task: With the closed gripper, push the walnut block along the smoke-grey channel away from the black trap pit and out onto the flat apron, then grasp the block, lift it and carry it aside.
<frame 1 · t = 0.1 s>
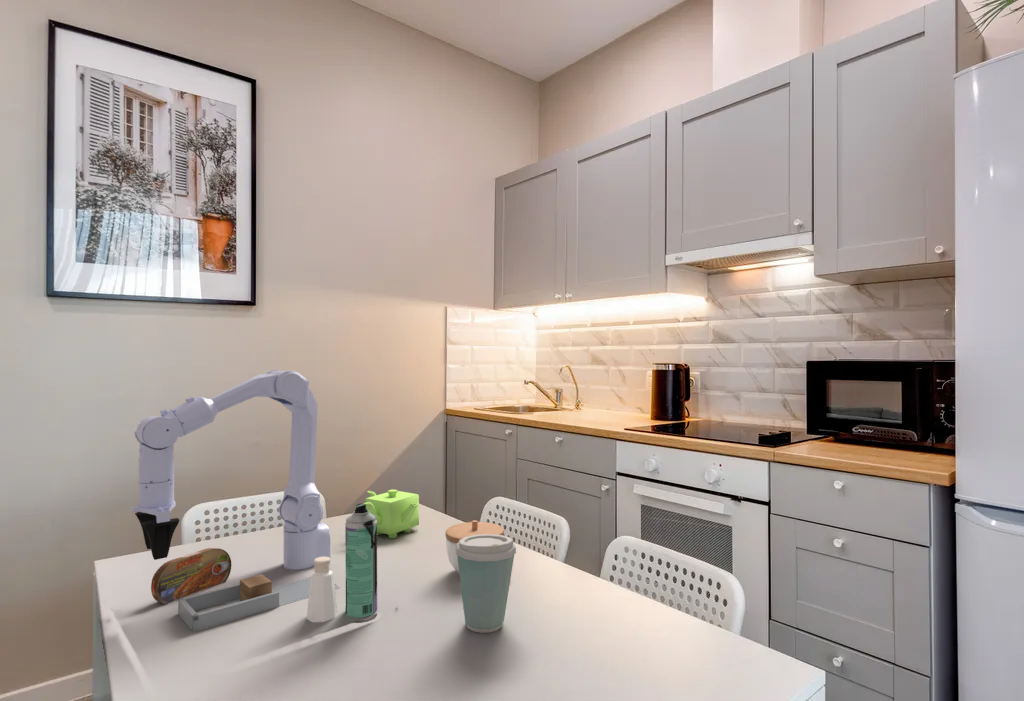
hand: (156, 552, 107), 10 cm above the table, fingers open, 7 cm apart
tin: (192, 597, 112), on the table
trap channel: (258, 606, 107), on the table
walnut block: (255, 602, 106), point 1 cm above the table, touching trap channel
lidded bowl: (475, 573, 123), on the table
kettle: (390, 533, 152), on the table
spray can: (361, 617, 103), on the table
disposable coffee cup: (486, 625, 99), on the table
salt shaker: (322, 622, 101), on the table
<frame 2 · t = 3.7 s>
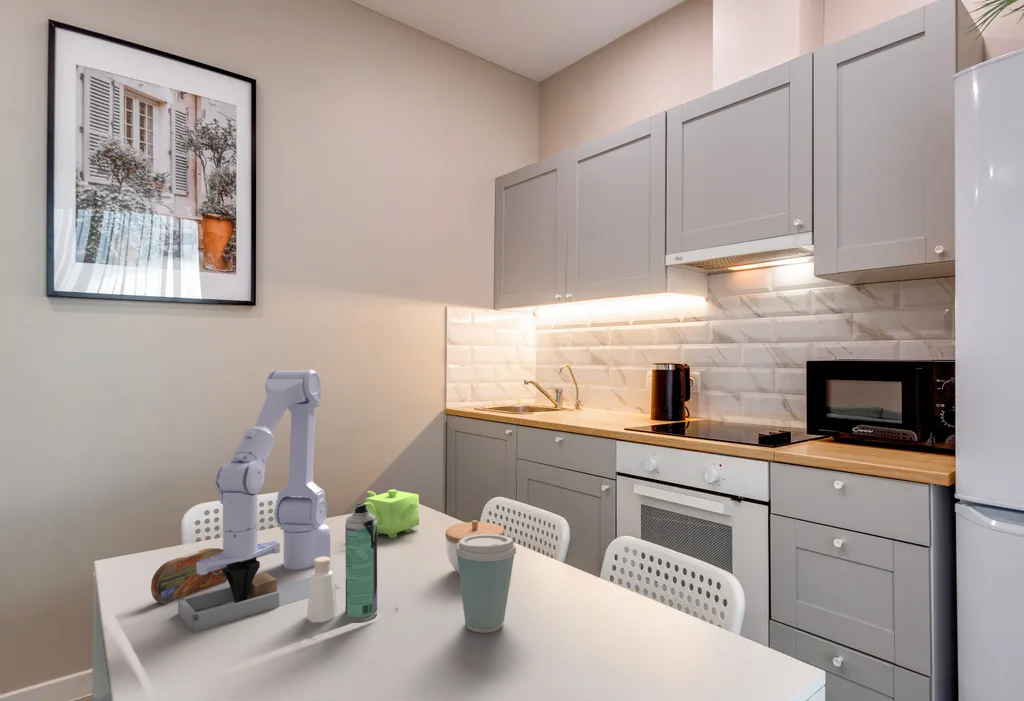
hand: (240, 602, 105), 2 cm above the table, fingers closed
walnut block: (260, 600, 107), point 1 cm above the table, touching gripper
everything else where it was.
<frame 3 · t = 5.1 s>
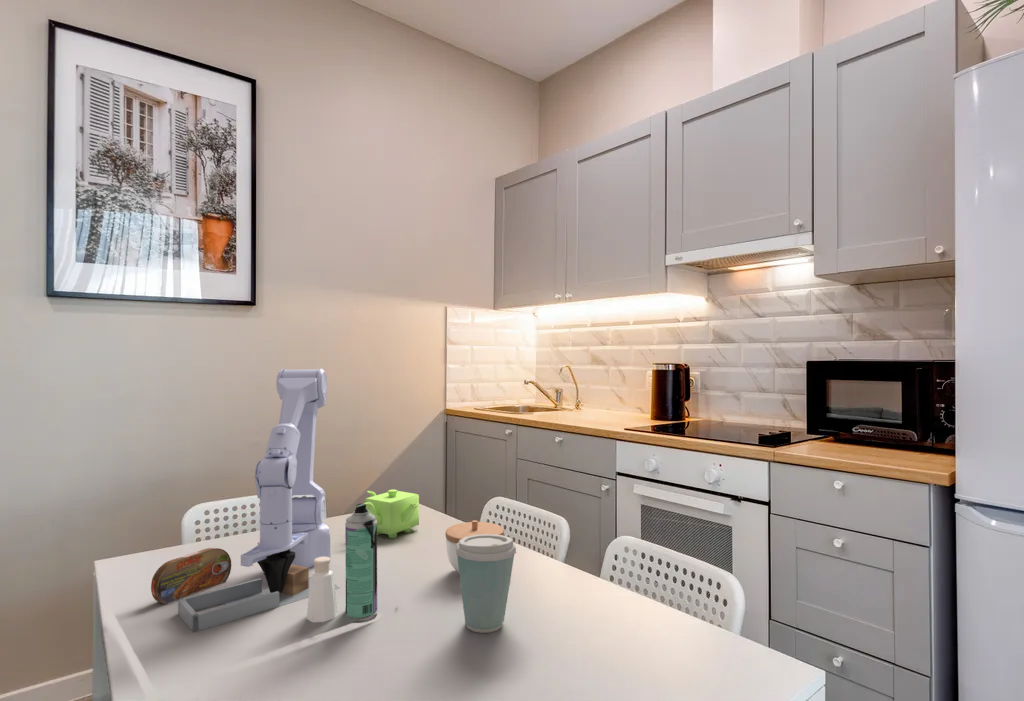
hand: (276, 592, 109), 2 cm above the table, fingers closed
walnut block: (291, 589, 112), point 1 cm above the table, touching gripper, trap channel
everything else where it was.
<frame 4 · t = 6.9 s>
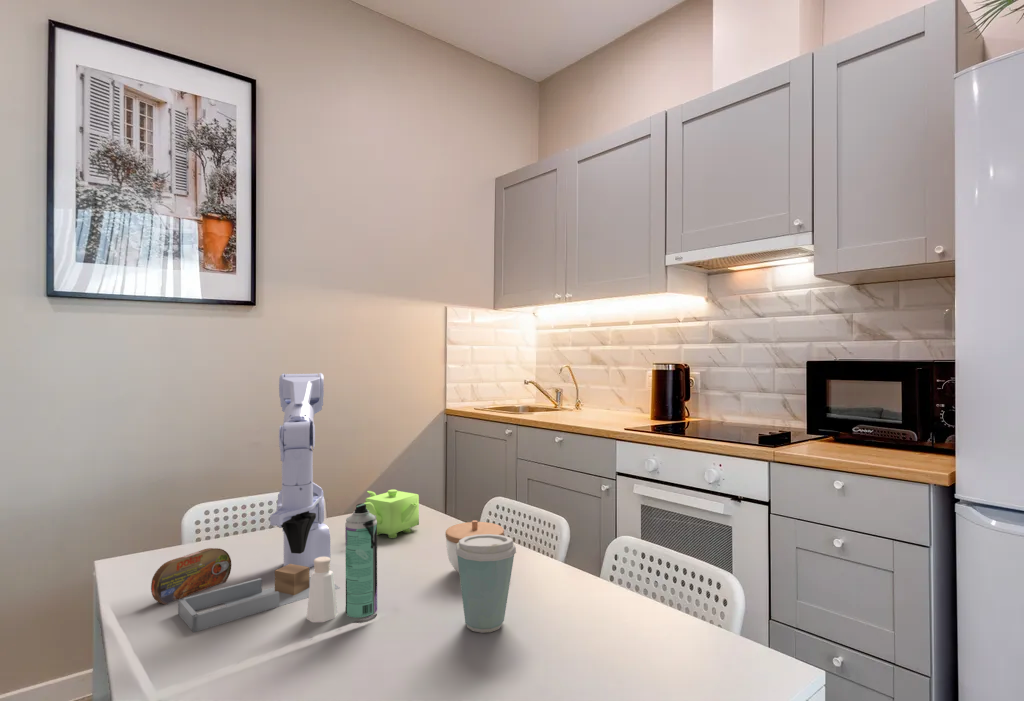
hand: (297, 552, 112), 8 cm above the table, fingers closed
walnut block: (292, 589, 112), point 1 cm above the table, touching trap channel
everything else where it was.
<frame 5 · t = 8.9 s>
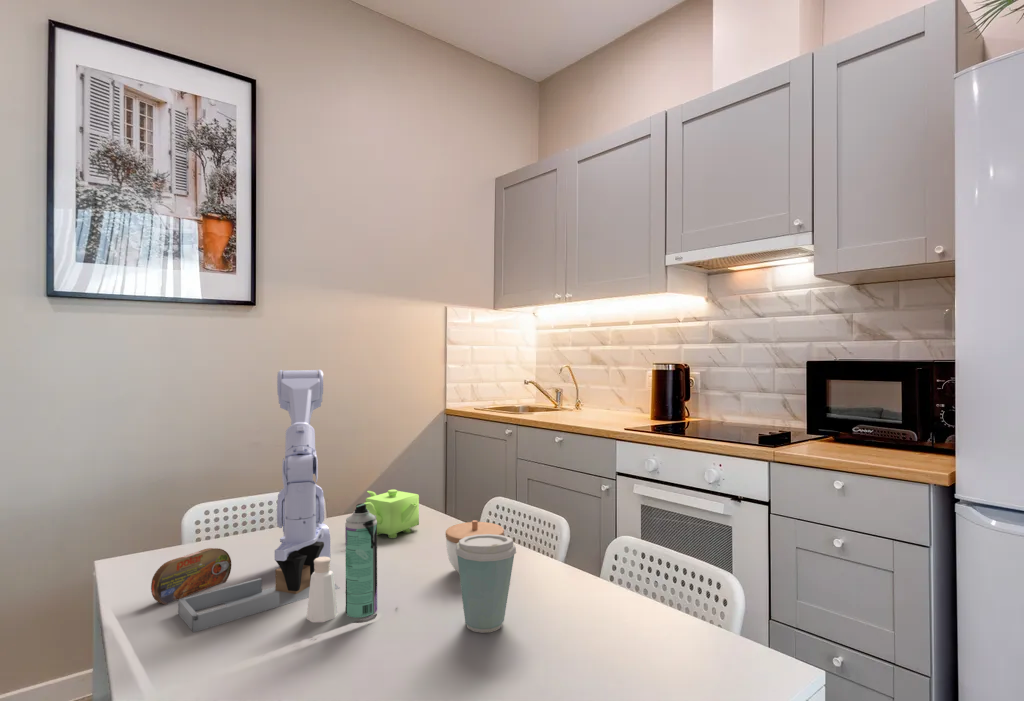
hand: (300, 585, 112), 2 cm above the table, fingers closed on walnut block, 4 cm apart
walnut block: (292, 588, 113), point 1 cm above the table, touching gripper, trap channel
everything else where it was.
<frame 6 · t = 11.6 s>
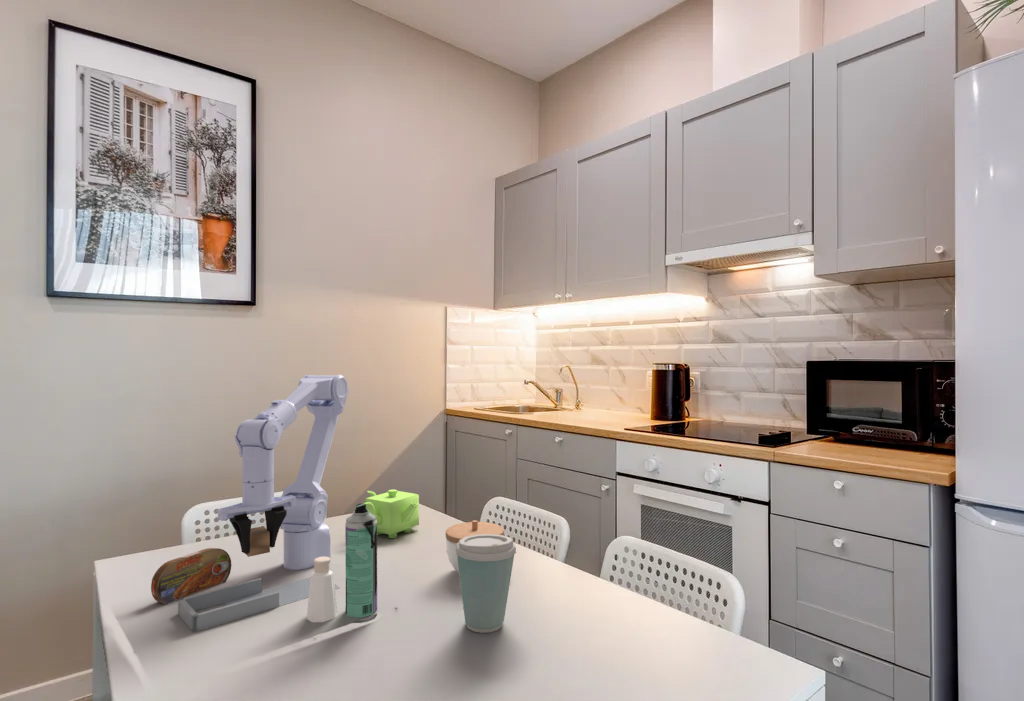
hand: (258, 549, 113), 9 cm above the table, fingers closed on walnut block, 4 cm apart
walnut block: (255, 551, 114), point 8 cm above the table, touching gripper
everything else where it was.
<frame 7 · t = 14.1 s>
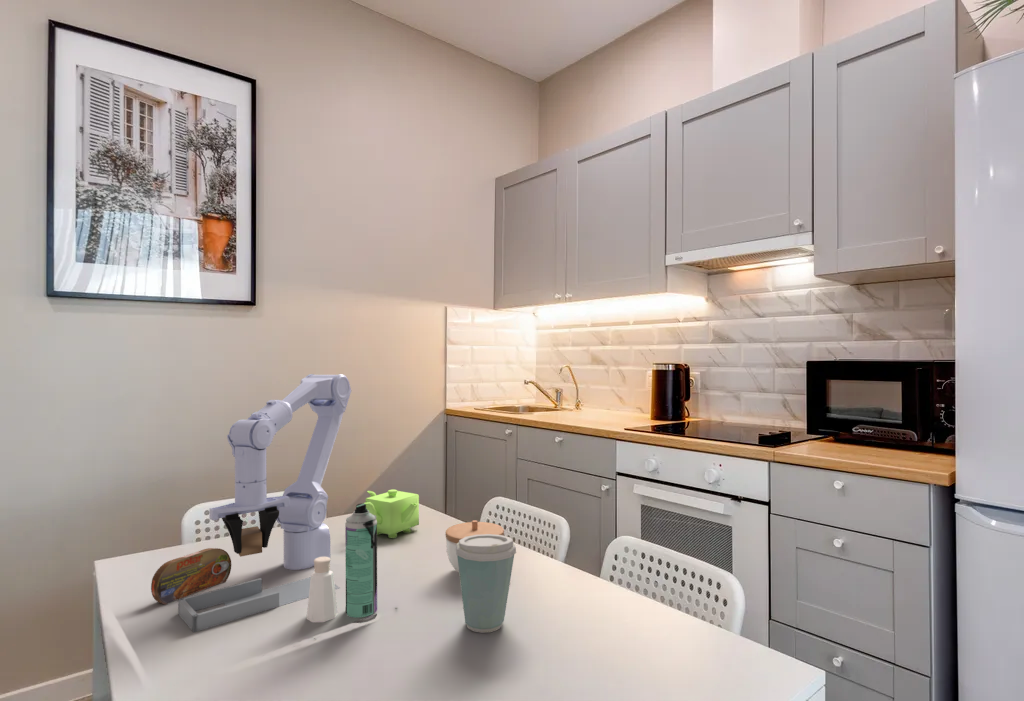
hand: (251, 549, 113), 9 cm above the table, fingers closed on walnut block, 4 cm apart
walnut block: (249, 551, 114), point 8 cm above the table, touching gripper
everything else where it was.
at the end: the gripper is holding walnut block; walnut block point 8.0 cm above the table; walnut block touching gripper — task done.
